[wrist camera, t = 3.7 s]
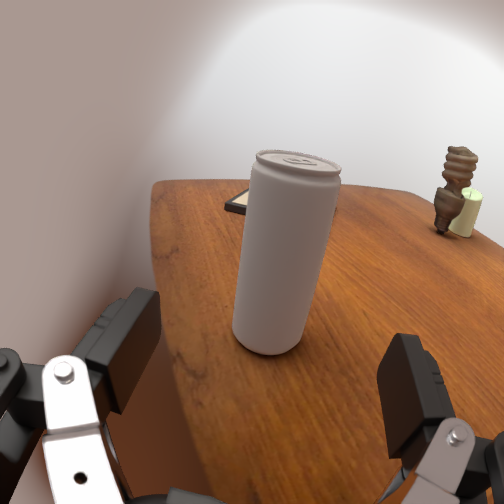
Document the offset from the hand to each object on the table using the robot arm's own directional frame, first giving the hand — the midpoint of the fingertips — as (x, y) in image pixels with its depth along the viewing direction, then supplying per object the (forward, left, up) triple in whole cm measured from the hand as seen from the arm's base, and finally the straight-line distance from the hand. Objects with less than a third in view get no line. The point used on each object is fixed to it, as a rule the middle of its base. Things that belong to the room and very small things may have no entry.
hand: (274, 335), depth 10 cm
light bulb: (+17, +44, -8) cm, 48 cm away
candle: (+22, +49, -8) cm, 54 cm away
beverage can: (-2, +9, -8) cm, 12 cm away
